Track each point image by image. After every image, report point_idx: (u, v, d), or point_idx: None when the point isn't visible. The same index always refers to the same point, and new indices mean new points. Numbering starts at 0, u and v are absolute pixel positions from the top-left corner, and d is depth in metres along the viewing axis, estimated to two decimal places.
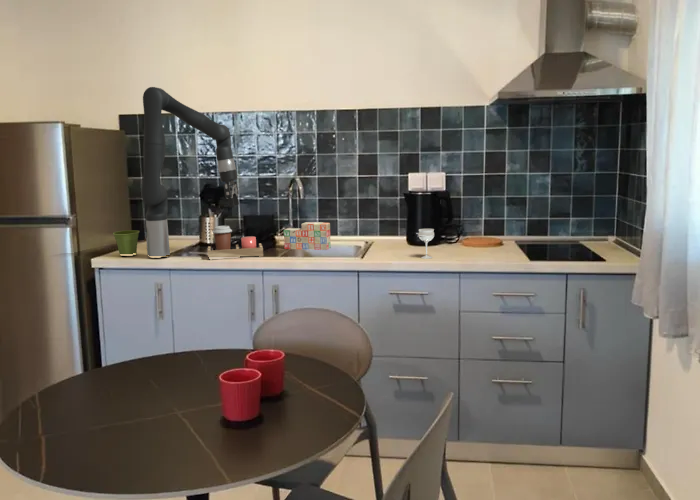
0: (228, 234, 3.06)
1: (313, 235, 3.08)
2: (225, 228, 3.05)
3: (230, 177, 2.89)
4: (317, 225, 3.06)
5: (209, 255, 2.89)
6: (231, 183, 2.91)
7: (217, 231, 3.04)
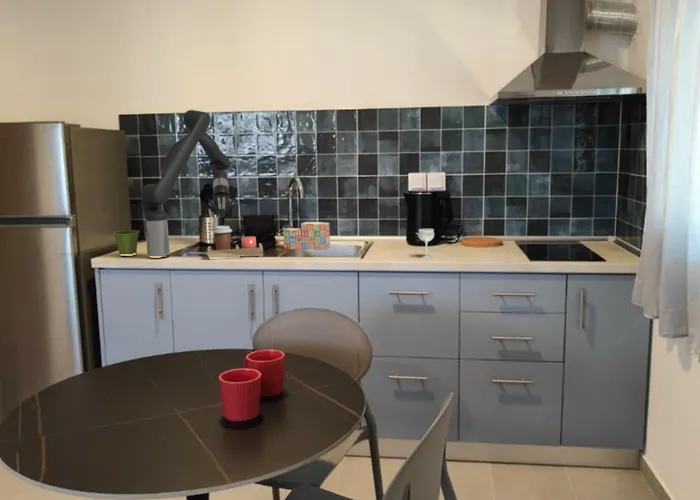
0: (228, 234, 3.06)
1: (312, 235, 3.08)
2: (225, 228, 3.05)
3: None
4: (317, 225, 3.06)
5: (209, 255, 2.89)
6: None
7: (217, 231, 3.04)
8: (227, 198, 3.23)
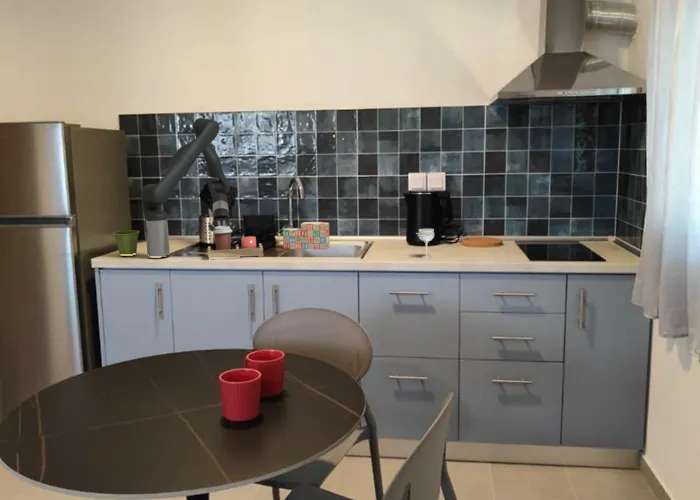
0: (228, 234, 3.05)
1: (312, 235, 3.08)
2: (225, 228, 3.04)
3: None
4: (316, 225, 3.07)
5: (209, 255, 2.89)
6: None
7: (217, 231, 3.02)
8: (227, 222, 3.18)
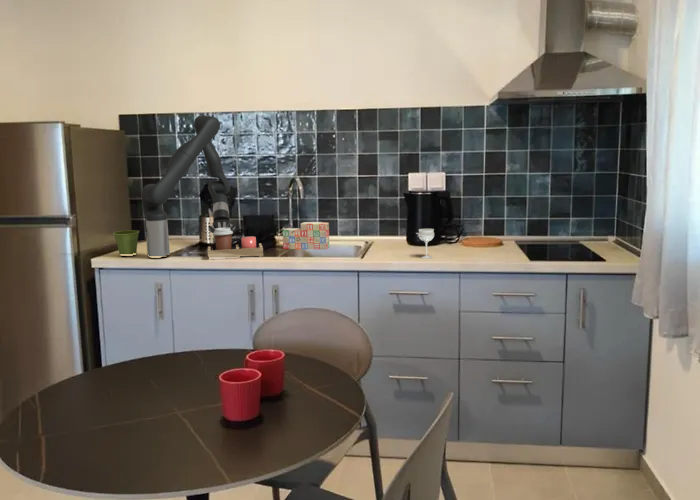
0: (229, 236, 2.99)
1: (312, 234, 3.08)
2: (226, 230, 2.98)
3: None
4: (316, 225, 3.07)
5: (209, 255, 2.89)
6: None
7: (218, 233, 2.97)
8: (228, 223, 3.12)
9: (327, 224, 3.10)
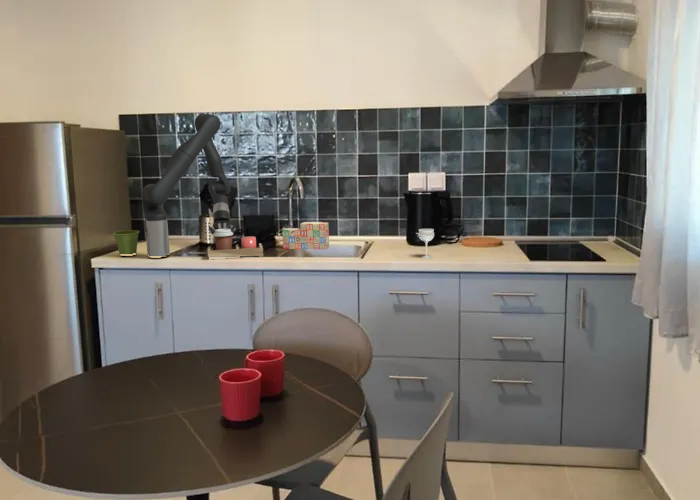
0: (229, 237, 2.95)
1: (312, 234, 3.09)
2: (226, 231, 2.94)
3: None
4: (316, 225, 3.07)
5: (209, 255, 2.89)
6: None
7: (218, 234, 2.93)
8: (228, 224, 3.08)
9: (327, 224, 3.10)
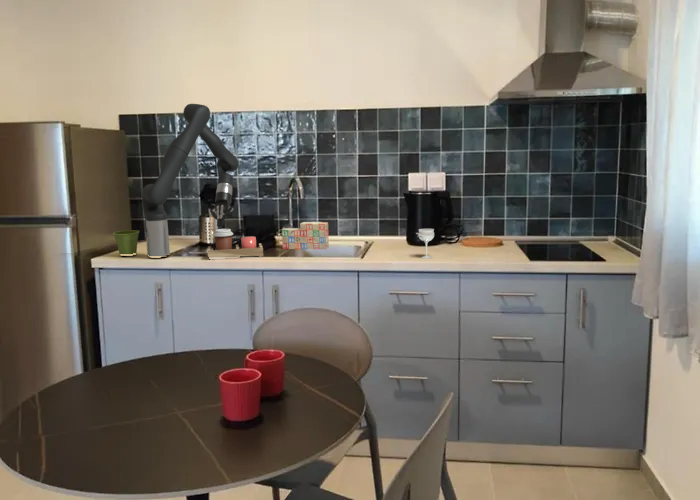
0: (229, 237, 2.95)
1: (311, 234, 3.09)
2: (226, 231, 2.94)
3: (230, 201, 3.19)
4: (316, 225, 3.07)
5: (209, 255, 2.89)
6: None
7: (218, 234, 2.93)
8: (226, 206, 3.15)
9: (326, 224, 3.10)
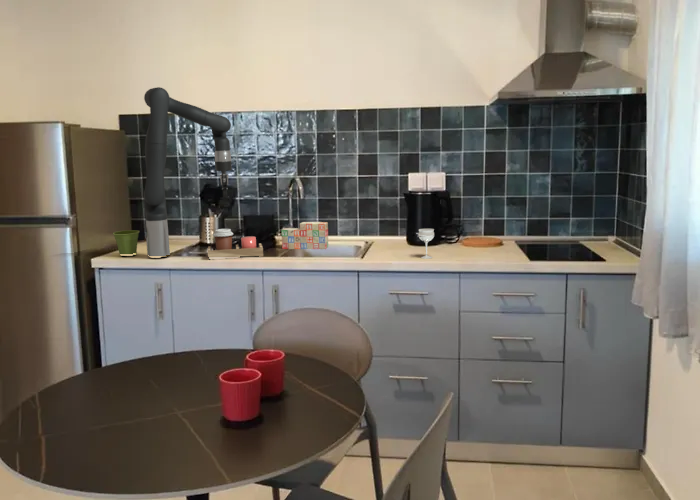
0: (229, 237, 2.95)
1: (311, 234, 3.09)
2: (226, 231, 2.94)
3: (227, 167, 3.07)
4: (316, 225, 3.08)
5: (209, 255, 2.89)
6: None
7: (218, 234, 2.93)
8: (221, 176, 3.08)
9: (326, 224, 3.11)
